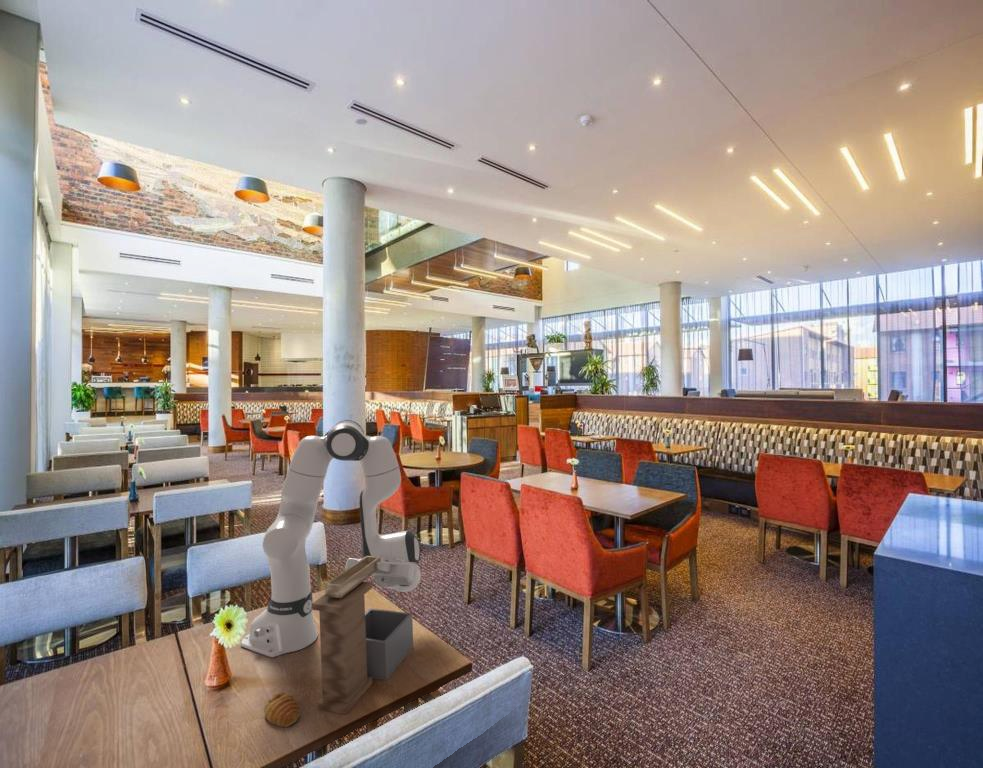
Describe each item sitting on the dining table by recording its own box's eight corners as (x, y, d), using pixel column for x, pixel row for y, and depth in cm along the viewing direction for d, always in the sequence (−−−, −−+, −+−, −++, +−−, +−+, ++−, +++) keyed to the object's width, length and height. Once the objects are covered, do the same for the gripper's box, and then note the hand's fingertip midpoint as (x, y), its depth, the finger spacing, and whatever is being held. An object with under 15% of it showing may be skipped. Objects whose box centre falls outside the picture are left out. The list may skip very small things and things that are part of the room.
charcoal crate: (340, 672, 131) (339, 636, 131) (371, 640, 146) (370, 608, 146) (386, 680, 127) (385, 642, 127) (413, 647, 142) (412, 613, 142)
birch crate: (325, 596, 118) (325, 584, 118) (366, 566, 136) (366, 555, 136) (341, 598, 117) (340, 586, 117) (380, 567, 135) (380, 557, 135)
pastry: (307, 718, 114) (306, 702, 114) (279, 734, 109) (278, 718, 109) (288, 701, 120) (287, 686, 120) (260, 716, 115) (260, 701, 115)
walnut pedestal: (315, 710, 116) (311, 603, 116) (349, 675, 130) (345, 579, 129) (344, 715, 114) (340, 607, 113) (375, 679, 127) (371, 582, 127)
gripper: (361, 557, 149) (338, 549, 137) (422, 564, 143) (402, 555, 131) (356, 579, 146) (331, 572, 134) (418, 586, 140) (397, 580, 128)
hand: (367, 564), depth 132 cm, fingers closed on birch crate, 4 cm apart
